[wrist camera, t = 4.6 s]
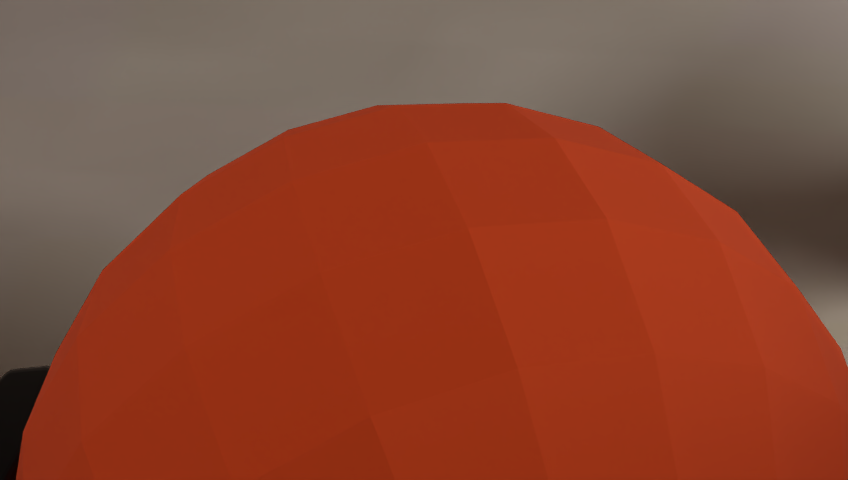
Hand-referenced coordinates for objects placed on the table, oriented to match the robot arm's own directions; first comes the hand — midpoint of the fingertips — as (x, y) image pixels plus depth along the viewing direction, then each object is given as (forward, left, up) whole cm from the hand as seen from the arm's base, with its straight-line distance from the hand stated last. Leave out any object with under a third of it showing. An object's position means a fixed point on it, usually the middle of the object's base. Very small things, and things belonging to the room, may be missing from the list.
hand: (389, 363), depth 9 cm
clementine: (0, 0, -2) cm, 2 cm away
